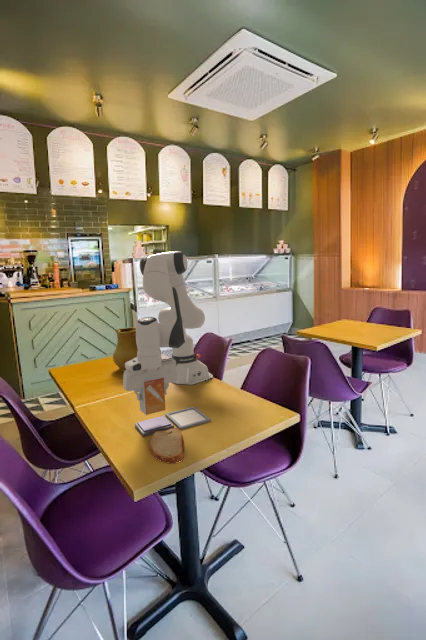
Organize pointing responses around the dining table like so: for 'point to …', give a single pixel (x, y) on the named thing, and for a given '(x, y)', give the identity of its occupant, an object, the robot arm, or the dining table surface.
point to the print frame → (187, 417)
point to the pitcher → (125, 347)
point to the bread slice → (167, 445)
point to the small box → (152, 396)
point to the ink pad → (153, 425)
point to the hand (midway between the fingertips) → (152, 397)
